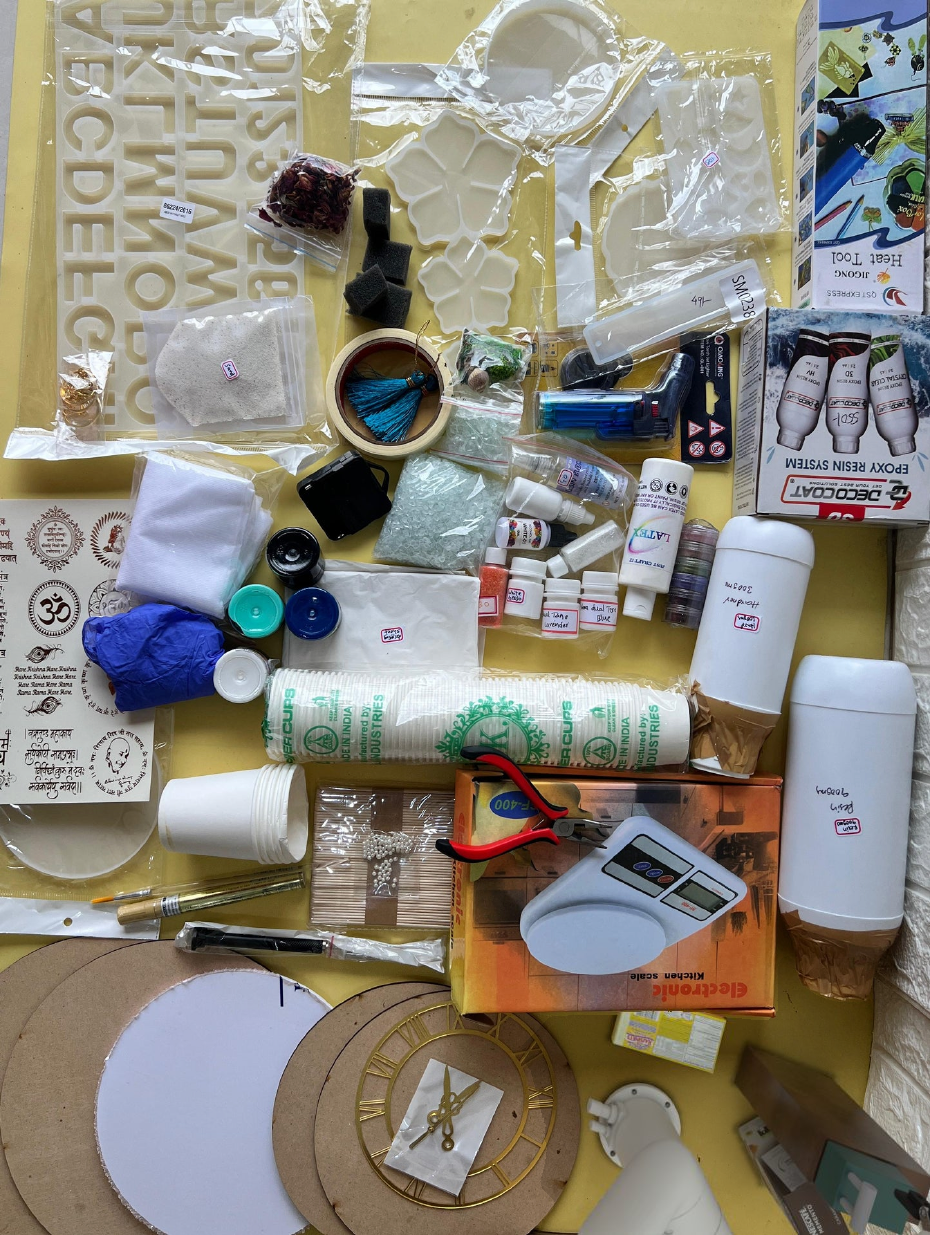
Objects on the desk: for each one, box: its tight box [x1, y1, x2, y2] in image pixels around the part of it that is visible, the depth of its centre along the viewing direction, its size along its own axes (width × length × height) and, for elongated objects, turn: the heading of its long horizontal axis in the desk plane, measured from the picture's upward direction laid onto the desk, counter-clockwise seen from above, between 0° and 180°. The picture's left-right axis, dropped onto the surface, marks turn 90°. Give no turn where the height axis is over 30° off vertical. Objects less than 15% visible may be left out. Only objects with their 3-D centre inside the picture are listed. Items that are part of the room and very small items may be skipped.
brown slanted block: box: [733, 1045, 930, 1227], centre depth 110 cm, size 14×6×25 cm, turn 69°
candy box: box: [610, 1011, 727, 1075], centre depth 122 cm, size 16×2×8 cm
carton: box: [814, 1141, 916, 1235], centre depth 93 cm, size 9×6×9 cm, turn 69°
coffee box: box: [737, 1115, 851, 1235], centre depth 114 cm, size 9×6×16 cm
